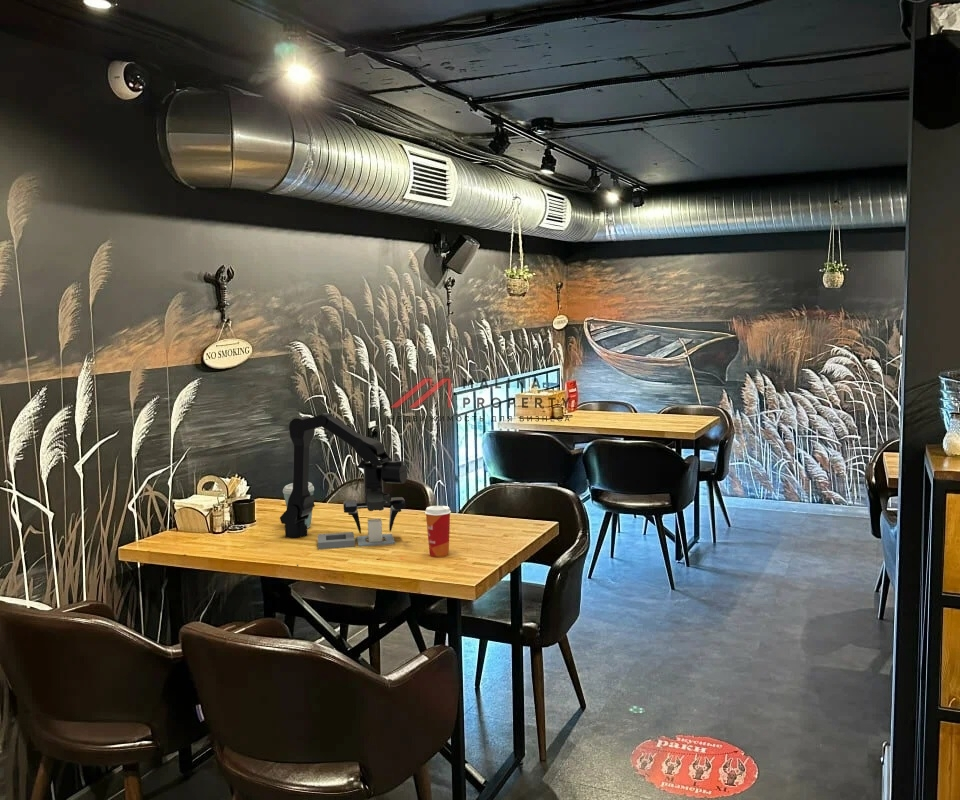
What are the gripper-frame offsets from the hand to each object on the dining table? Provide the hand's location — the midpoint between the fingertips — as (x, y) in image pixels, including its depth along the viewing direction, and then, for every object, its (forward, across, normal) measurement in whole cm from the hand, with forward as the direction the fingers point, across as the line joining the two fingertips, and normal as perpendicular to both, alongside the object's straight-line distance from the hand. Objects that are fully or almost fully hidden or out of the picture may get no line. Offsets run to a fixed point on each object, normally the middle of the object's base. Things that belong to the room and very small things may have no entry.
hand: (375, 532), depth 260 cm
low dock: (+4, 0, 0) cm, 4 cm away
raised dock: (+4, -12, 0) cm, 13 cm away
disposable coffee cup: (+4, -24, +32) cm, 40 cm away
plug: (+4, 0, 0) cm, 4 cm away
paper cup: (+4, +18, -16) cm, 24 cm away
